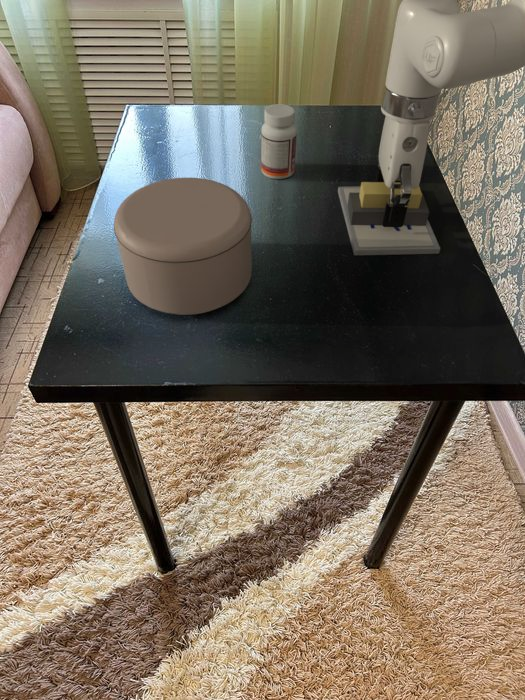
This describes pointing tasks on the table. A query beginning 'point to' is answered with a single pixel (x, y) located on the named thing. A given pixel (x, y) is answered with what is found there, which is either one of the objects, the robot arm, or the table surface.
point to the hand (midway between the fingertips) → (387, 208)
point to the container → (185, 244)
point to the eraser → (384, 205)
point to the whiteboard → (387, 235)
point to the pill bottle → (278, 141)
